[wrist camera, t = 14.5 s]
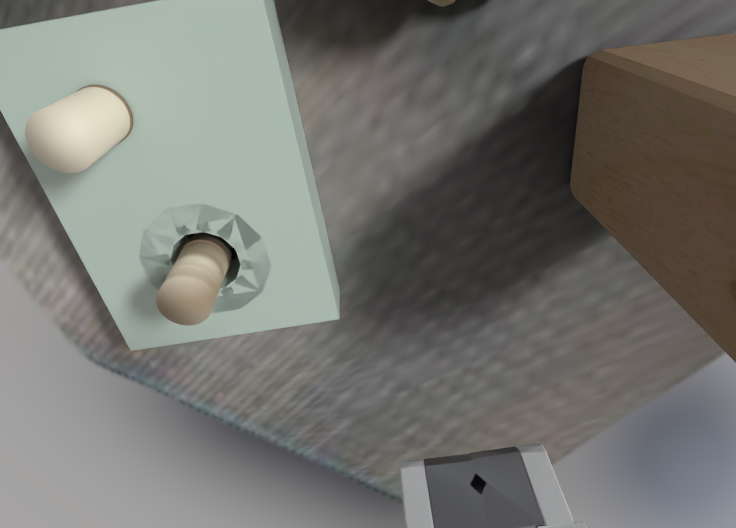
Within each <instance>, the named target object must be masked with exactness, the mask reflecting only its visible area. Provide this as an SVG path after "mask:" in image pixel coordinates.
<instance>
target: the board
mask: <svg viewBox="0 0 736 528" xmlns="http://www.w3.org/2000/svg"><path fill="white" fill-rule="evenodd" d="M0 111H1V113H2V114H3V116H4V118H5V120H6V122H7V124H8V125H9V127H10V129H11V131H12V133H13V135H14V136H15V138H16V140H17V142H18V144H19V146H20V148H21V149H22V151H23V153H24V155H25V157H26V159H27V160H28V162H29V164H30V166H31V168H32V170H33V171H34V173H35V175H36V177H37V179H38V181H39V183H40V184H41V186H42V188H43V190H44V192H45V194H46V195H47V197H48V199H49V201H50V203H51V205H52V206H53V208H54V210H55V212H56V214H57V216H58V218H59V219H60V221H61V223H62V225H63V227H64V229H65V230H66V232H67V234H68V236H69V238H70V240H71V241H72V243H73V245H74V247H75V249H76V251H77V253H78V254H79V256H80V258H81V260H82V262H83V264H84V265H85V267H86V269H87V271H88V273H89V275H90V277H91V278H92V280H93V282H94V284H95V286H96V288H97V289H98V291H99V293H100V295H101V297H102V299H103V300H104V302H105V304H106V306H107V308H108V310H109V312H110V313H111V315H112V317H113V319H114V321H115V323H116V324H117V326H118V328H119V330H120V332H121V334H122V335H123V337H124V339H125V341H126V343H127V345H128V347H129V348H130V350H131V351H133V350H140V349H147V348H153V347H160V346H166V345H173V344H179V343H186V342H193V341H199V340H206V339H212V338H219V337H225V336H232V335H239V334H245V333H252V332H258V331H265V330H271V329H278V328H284V327H291V326H298V325H304V324H311V323H317V322H324V321H330V320H337V319H339V300H340V288H339V284H338V279H337V275H336V271H335V266H334V262H333V257H332V253H331V249H330V244H329V240H328V236H327V231H326V227H325V222H324V218H323V214H322V209H321V205H320V200H319V196H318V192H317V187H316V183H315V178H314V174H313V170H312V165H311V161H310V157H309V152H308V148H307V143H306V139H305V135H304V130H303V126H302V121H301V117H300V113H299V108H298V104H297V99H296V95H295V91H294V86H293V82H292V78H291V73H290V69H289V64H288V60H287V56H286V51H285V47H284V42H283V38H282V34H281V29H280V25H279V20H278V16H277V12H276V7H275V3H274V0H155V1H149V2H144V3H138V4H133V5H128V6H122V7H117V8H111V9H106V10H100V11H95V12H90V13H84V14H79V15H73V16H68V17H63V18H57V19H52V20H46V21H41V22H35V23H30V24H25V25H19V26H14V27H8V28H3V29H0ZM200 232H205V233H209V234H212V235H216V236H219V237H222V238H223V239H224V240H225V241H226V242H228V243H229V244H230V245H231V246H232V247H233V248H234V249H235V250H236V253H237V255H238V257H236V258H235V259H231V262H230V267H229V270H228V272H227V274H226V275H225V277H224V280H223V282H222V285H221V287H220V290H219V293H218V295H217V298H216V300H215V303H214V305H213V308H212V310H211V313H210V315H209V317H208V318H207V319H206V320H205V321H203V322H202V323H199V324H197V325H191V326H186V325H180V324H176V323H174V322H172V321H170V320H168V319H167V318H165V317H164V316H163V315H162V314H161V312H160V311H159V309H158V307H157V304H156V296H157V293H158V291H159V290H160V288H161V286H162V284H163V283H164V281H165V279H166V277H167V276H168V274H169V272H170V270H171V269H172V267H173V265H174V263H175V262H176V260H177V258H178V257H179V254H180V251H181V249H182V248H183V246H184V245H185V244H186V243H187V241H188V240H189V238H188V234H194V233H200Z"/></svg>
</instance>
